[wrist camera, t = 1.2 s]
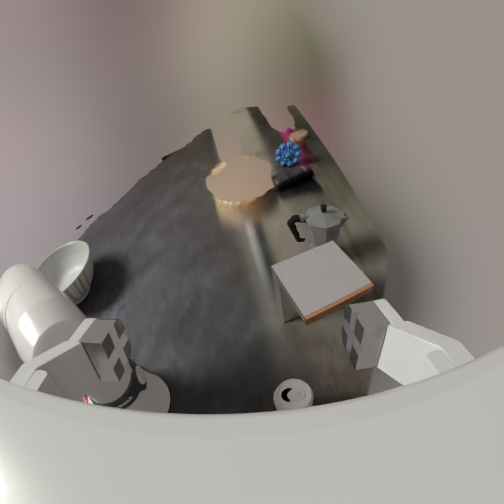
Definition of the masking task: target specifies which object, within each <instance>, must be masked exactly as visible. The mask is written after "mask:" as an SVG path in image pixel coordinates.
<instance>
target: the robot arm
mask: <svg viewBox="0 0 504 504" xmlns="http://www.w3.org/2000/svg"><path fill="white" fill-rule="evenodd" d="M344 316H345V318H346V320H347V321H346V322H345V323H344V324H343V326H342V340H343V344H344V347H345V349H346V350H347V351H349V352H351V353H350V360H351V362H352V364H353V366H354V368H355V370H359V369H364V368H370V367H375V366H377V367H378V368H379V369H381V370H382V371H384V372H385V373H386V374H388V375H389V376H391V377H392V378H394V379H395V380H397V381H398V382H400V383H401V384H402V385H404V386H401V387H398V388H394V389H391V390H387V391H383V392H380V393H376V394H372V395H368V396H363V397H359V398H354V399H350V400H345V401H340V402H335V403H329V404H324V405H318V406H311V407H304V408H297V409H289V410H280V411H270V412H257V413H240V414H178V413H167V412H168V410H169V406H170V393H169V390H168V387H167V385H166V384H165V382H164V381H163V380H162V379H161V378H160V377H158V376H156V375H154V374H151V373H149V372H147V371H145V370H143V369H142V368H141V367H139V366H138V365H137V364H136V363H135V362H133V361H132V360H131V359H130V357H131V345H130V342H129V339H128V338H127V337H126V336H125V335H124V334H123V332H124V330H125V328H124V325H123V323H122V321H121V320H119V319H101V318H98V319H97V318H87V317H86V316H85V315H84V314H83V313H82V312H81V310H80V309H79V308H78V307H77V306H76V305H75V304H74V303H73V302H72V301H71V300H70V299H69V298H68V297H67V296H66V295H65V294H64V293H63V292H62V291H61V290H60V289H59V288H58V287H57V286H56V285H55V284H54V283H53V282H52V281H51V280H50V279H49V278H48V276H47V275H46V274H45V273H44V272H42V271H41V270H39V269H37V268H35V267H32V266H30V265H26V264H17V265H14V266H12V267H10V268H9V269H8V270H7V271H6V272H5V273H4V274H3V276H2V278H1V280H0V504H504V345H503V346H500V347H499V348H497V349H495V350H493V351H491V352H489V353H486V354H485V355H482V356H480V357H478V358H476V359H474V358H473V357H472V355H471V354H470V353H469V352H468V351H467V349H466V348H464V346H463V345H462V344H461V343H460V342H459V341H457V340H455V339H452V338H450V337H447V336H444V335H442V334H440V333H437V332H435V331H432V330H430V329H427V328H424V327H422V326H420V325H417V324H415V323H412V322H410V321H403V319H402V318H401V317H400V316H399V314H398V313H397V312H396V311H395V310H394V309H393V308H392V306H391V305H390V304H389V303H388V301H387V300H385V299H378V300H373V301H369V302H363V303H357V304H350V305H346V307H345V310H344ZM81 398H83V399H84V402H80V401H79V400H80V399H81Z"/></svg>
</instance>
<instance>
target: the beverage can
mask: <svg viewBox="0 0 504 504" xmlns="http://www.w3.org/2000/svg"><path fill="white" fill-rule="evenodd" d="M273 399H274V404H275V407H276V409H277V411H280V410H289V409H297V408H304V407H311V406H312V403H313V391H312V389H311V387H310V386H309V385H308V384H307V383H306V382H304V381H302V380H299V379H289V380H286V381H284V382H282V383H281V384H280V385H279V386H278V387H277V389H276V390H275V392H274V397H273Z"/></svg>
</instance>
